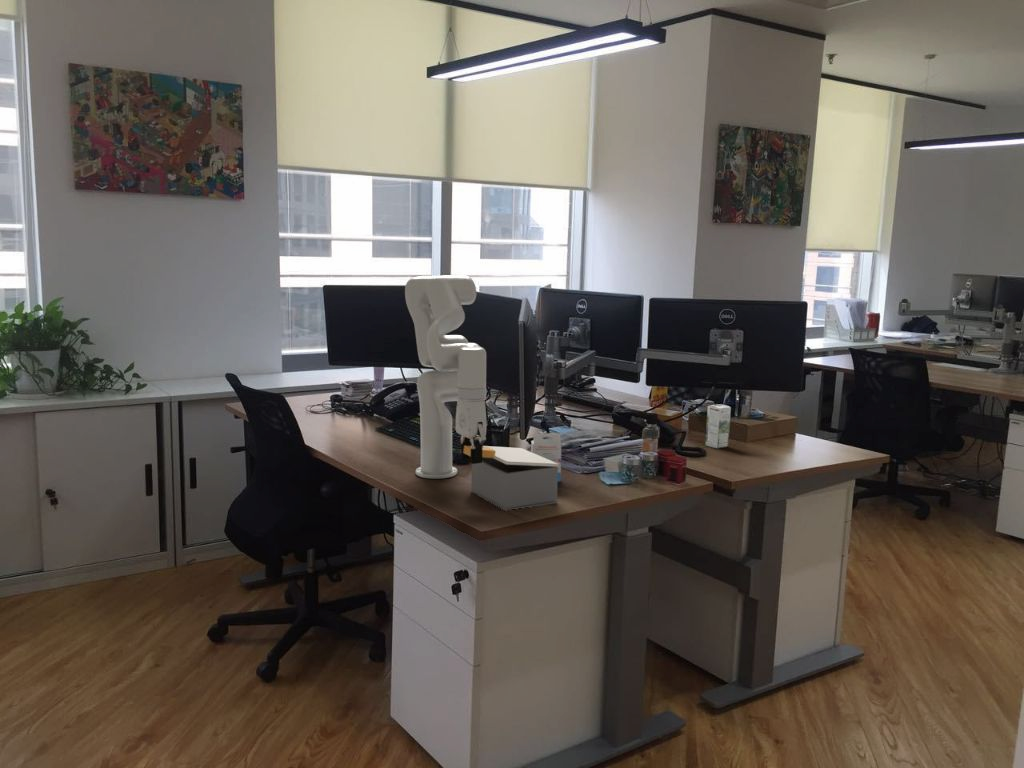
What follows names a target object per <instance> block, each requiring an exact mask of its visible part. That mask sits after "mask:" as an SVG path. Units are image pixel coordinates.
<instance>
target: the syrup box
mask: <svg viewBox="0 0 1024 768" xmlns="http://www.w3.org/2000/svg"><path fill="white" fill-rule="evenodd" d="M731 410H732V407H731V406H729V405H726V404H718V403H717V404H712V405H707V409H706V411H707V414H706V427H705V441H704V442H705V443H704V446H707V447H710V448H713V449H722V448H723V449H724V448H727V447H729V442H730V441H729V440H730V426H731Z"/></svg>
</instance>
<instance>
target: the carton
mask: <svg viewBox="0 0 1024 768" xmlns="http://www.w3.org/2000/svg"><path fill="white" fill-rule="evenodd" d="M470 480H471V481H470V483H471V493H473V494H474V493H475V495H476V494H477V495H476V496H478V497H479V498H481V497H482V499H483V498H484V499H483V500H484V501H487V502H488V501H489V502H488V503H490V502H491V503H490V504H492V503H493V504H494V505H493V504H492V505H493V506H495V505H496V506H495V507H497V506H498V507H497V508H499V507H500V508H501V510H502V509H503V510H502V511H504V510H505V512H508V511H507V510H510V511H512V510H511V509H516V510H519V509H518V508H522V509H526V508H525V507H529V508H533V506H535V507H540V506H548V505H552V504H557V503H558V483H559V482H558V467H553V466H531V465H509V464H504V463H502V462H500V461H498V460H496V459H494V458H483V457H482V463H477V464H471V479H470ZM500 508H499V509H500Z"/></svg>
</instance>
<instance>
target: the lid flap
mask: <svg viewBox="0 0 1024 768" xmlns="http://www.w3.org/2000/svg"><path fill="white" fill-rule="evenodd" d="M471 449H472V446H464V450H463V453H464V454H466V455H468V456H470V457H471ZM482 457H483V458H494V459H496V460H498V461H500V462H502V463H504V464H509V465H531V466H553V467H558V463H555V462H553V461H551V460H548V459H546V458H544V457H541V456H539V455H537V454H534V453H532V452H531V450H530V451H529V450H527V449H524V448H522V447H511V446H509V447H507V446H489V445H483V449H482Z"/></svg>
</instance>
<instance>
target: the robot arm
mask: <svg viewBox="0 0 1024 768" xmlns="http://www.w3.org/2000/svg"><path fill="white" fill-rule="evenodd" d="M404 297H405V303H406V306H407V309H408V312H409V314H410V317H411V318H412V321H413V324H414V332H415V333H414V334H415V339H416V340H415V342H416V349H417V355H418V360H419V363H420V364H421V365H422V366H423V367H426V368H427V367H428V368H433V369H434V370H428V371H424V372H422V373H421V374H420V375H419V376H418V378H417V381H416V389H417V395H418V401H419V402H418V403H419V416H420V421H419V422H420V424H419V425H420V426H419V427H420V466H419V467H418V468H416V469H415V475H416V476H418V477H420V478H424V479H432V480H433V479H434V480H435V479H447V478H452V477H454V476H457V474H458V468H456V467H455V466H453V416H452V414H451V412H450V410H449V409H448V408H447V406H446V405H445V403H448V402H456V408H455V409H456V411H455V431H456V433H457V434H458V435H459V436H460V458H461V459H462V460H465V459H470V464H471V465H472V464H477V463H482V449H483V446H484V443H486V441H487V437H486V435H487V411H486V409H487V408H486V401H485V400H487V351H486V349H485V348H484V347H482V346H480V345H479V344H478V343H476V342H469V341H468V339H467V338H466V337H465V336H463V335H461V334H449V333H451V332H453V331H454V330H455V331H456V330H457V329H459V327H460V326H462V324H463V323H464V322H465V319H466V313H465V311H464V309H463V306H465V305H466V306H467V305H472V304H473V303H474V302H475V300H476V298H477V287H476V284H475V281H474V280H473V279H472V277H470V276H468V275H421V276H416V277H412V278H410V279H409V280H407V282H406V283H405V287H404ZM476 435H477V436H476ZM464 446H472V449H471V457H470V456H468V455H466V454H464V453H463V450H464Z"/></svg>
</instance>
